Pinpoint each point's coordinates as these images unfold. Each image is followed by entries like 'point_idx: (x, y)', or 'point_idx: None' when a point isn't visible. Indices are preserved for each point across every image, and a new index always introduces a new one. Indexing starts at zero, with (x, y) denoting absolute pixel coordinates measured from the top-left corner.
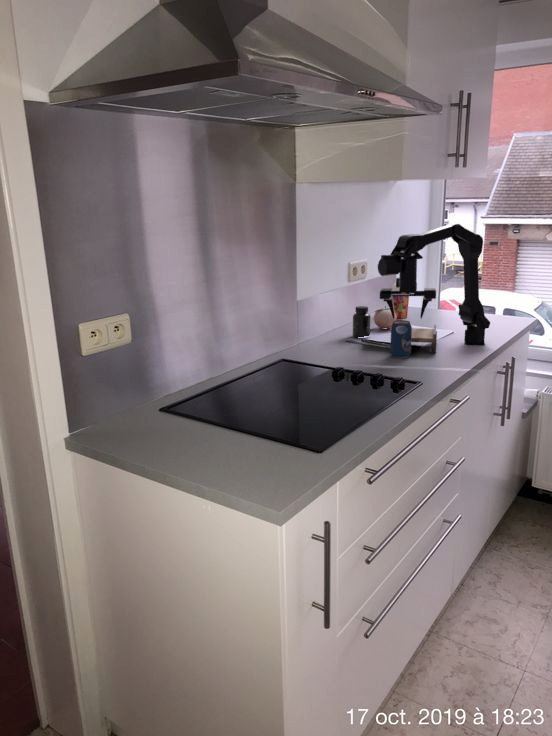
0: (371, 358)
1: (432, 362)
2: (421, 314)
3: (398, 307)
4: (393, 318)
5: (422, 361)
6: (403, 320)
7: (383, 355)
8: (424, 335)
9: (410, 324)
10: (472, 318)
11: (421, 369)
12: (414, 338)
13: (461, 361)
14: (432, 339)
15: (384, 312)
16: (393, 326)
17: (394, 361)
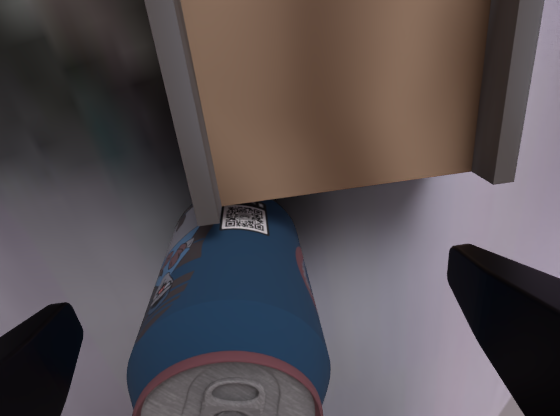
0: (101, 318)
1: (411, 296)
2: (492, 346)
3: None
4: (69, 331)
5: (363, 294)
6: (230, 362)
7: (138, 248)
8: (402, 68)
9: (322, 391)
10: None
11: (365, 394)
12: (320, 190)
13: (551, 241)
14: (461, 169)
15: None
16: None
17: None
